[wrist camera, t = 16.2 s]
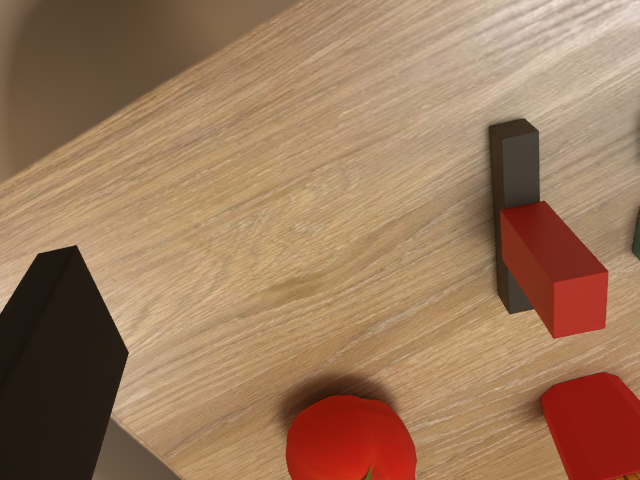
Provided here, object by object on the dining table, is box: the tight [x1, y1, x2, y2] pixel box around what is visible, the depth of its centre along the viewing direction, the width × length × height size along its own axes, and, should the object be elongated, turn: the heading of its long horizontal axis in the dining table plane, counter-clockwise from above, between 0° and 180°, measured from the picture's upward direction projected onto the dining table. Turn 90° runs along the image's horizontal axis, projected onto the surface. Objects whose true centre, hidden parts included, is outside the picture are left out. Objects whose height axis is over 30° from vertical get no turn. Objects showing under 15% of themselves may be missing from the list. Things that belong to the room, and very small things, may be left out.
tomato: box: [286, 395, 417, 480], centre depth 48 cm, size 11×11×9 cm
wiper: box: [489, 119, 608, 339], centre depth 38 cm, size 3×14×11 cm, turn 11°
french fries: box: [541, 373, 640, 480], centre depth 47 cm, size 9×4×13 cm, turn 106°
